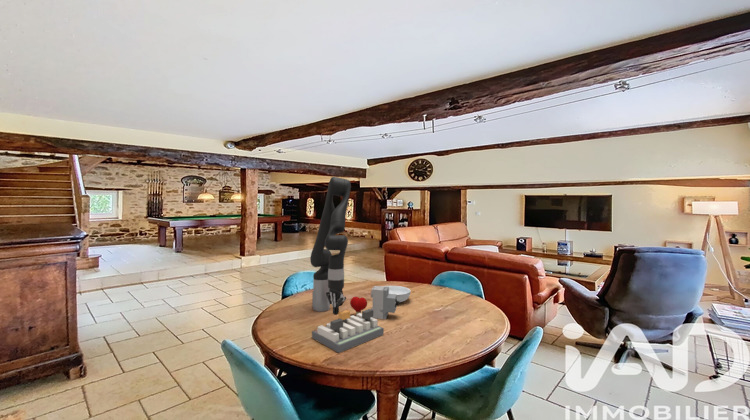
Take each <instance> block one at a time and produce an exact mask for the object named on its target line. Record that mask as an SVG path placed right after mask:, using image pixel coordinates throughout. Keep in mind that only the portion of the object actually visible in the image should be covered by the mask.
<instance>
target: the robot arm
mask: <svg viewBox="0 0 750 420" xmlns="http://www.w3.org/2000/svg"><path fill="white" fill-rule="evenodd" d="M351 184H352V183H351V180H349V179H347V178H346V179H345V178H342V177H337V176H332V177H330V180H329V182H328V186H327V191H326V192H327V193H326V196H325V197H326V198H325V203H324V208H323V211H322V214H321V218H320V223H319V227H318V230H317V231H318V232H317V236H316V238H315V241H314V243H313V244H314V245H313V247H312V250H311V253H310V256H309V257H310V258H309V259H310V264H311V266H312V267H314V268H319V269H318V270H317V271H315V272H314V273H313V277H312V278H313V280H312V284H313V286H312V287H313V290H312V294H311V295H312V296H311V297H312V299H311V300H312V301H311V302H312V304H311V307H312V310H313V311H315V312H326V311H329V310H330V309H331V308H330V307H331V306H332V315H334V316H338V312H339V311H340V307H341V306H343V304H344V303H345V301H346V300H347V296H344V292H343V289H344V287H345V266H344V265H345V254H346V250H347V248H348V244H349V240H348V237H347V236H346V235H340V234H342V233H343V232H344V231H345V228H346V217H347V209H348V206H349V199H350V194H351V188H352V185H351ZM334 196H337V197H342V198H341V201H340V203H339V204H338V205H337V206H336V207H335V204H334V200H333V199H334ZM336 234H337V235H336ZM332 251H339V252H338V253H337V254H336V253H335V254H332Z"/></svg>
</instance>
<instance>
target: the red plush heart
mask: <svg viewBox="0 0 750 420" xmlns="http://www.w3.org/2000/svg"><path fill="white" fill-rule="evenodd" d="M349 303H350V307H351V309H353V310H354V311H355V315H356V314H359V313H361V314H362V311H364V310H366V308H367V306H368V300H367V299H366V298H365V297H359V296H354V297H351V299H350V302H349Z"/></svg>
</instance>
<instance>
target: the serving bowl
mask: <svg viewBox="0 0 750 420" xmlns="http://www.w3.org/2000/svg"><path fill="white" fill-rule="evenodd" d="M384 286H385V287H389V294H397V301H399V303H402V302H405V301H406V300H408V299H409V298H410V295H411V291H412V290H411V289H410V288H408V287H406V286H400V285H384Z"/></svg>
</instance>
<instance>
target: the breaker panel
mask: <svg viewBox="0 0 750 420" xmlns="http://www.w3.org/2000/svg"><path fill="white" fill-rule="evenodd" d="M372 317H373V310H372V309H371V308H368V309H364V310H361V313H359V314H356V313H355V315H350V318H348V319H347V324H346V323H344V322H343V320H342V319H338V318H337V319H334V320H330V321H329V322H327V323H326V324H325V326H324V325H323V324H321V325H319V326H317V329H316V330H312V331H311V338H312V339H313V340H315V341H316V340H317V341H316V342H318V341H319V342H318V343H320V344H321V345H323V344H324V346H325V347H327V348H329V349H330V350H332V351H335V352H337V353H338V354H340V353H342V352H345V351H348V350H350V349H353V348H354V347H356V346H359V345H362V344H364V343H366V342H369V341H371V340H374V339H377V338H378V337H381V336H383V335H384V331H385V330H384V327H382V326H380V325H378V321H379V320H378V319H376V318H372Z"/></svg>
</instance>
